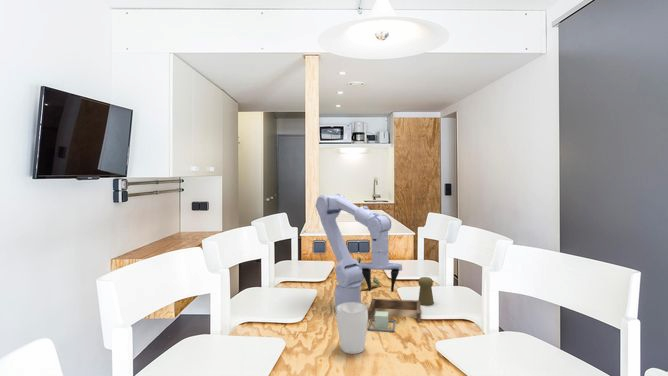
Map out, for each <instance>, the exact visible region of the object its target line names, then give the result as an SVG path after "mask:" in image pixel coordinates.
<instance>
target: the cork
mask: <svg viewBox="0 0 668 376" xmlns="http://www.w3.org/2000/svg"><path fill="white" fill-rule="evenodd" d="M417 283H418V286H419V294H418V299H417V301H420V306H424V307H425V306H426V307H431V306H433V305H434V304H435V302H434V301H435V300H434V295H433V290H432V287H433V284H434V282H433V279H432V278H431V277H429V276H428V277H427V276H422V277H420V278H419V279H418V282H417Z"/></svg>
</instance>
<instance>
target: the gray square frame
mask: <svg viewBox="0 0 668 376" xmlns="http://www.w3.org/2000/svg"><path fill="white" fill-rule="evenodd" d="M373 322H374V323H375V318H372V319H369V323H368V324H367V331H366V332H379V333H395V330H396V323H397V321H396V319H389V323H391V324H392V323H393V324H392V329H380V328H371V326H372V324H373Z"/></svg>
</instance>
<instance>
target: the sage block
mask: <svg viewBox="0 0 668 376" xmlns="http://www.w3.org/2000/svg"><path fill="white" fill-rule="evenodd" d="M389 318H390V316H388V312H383V311H376V313H375V315H374V319H375V322H374V329H387V330H389V325H390V322H389V320H390V319H389Z"/></svg>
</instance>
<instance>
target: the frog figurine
mask: <svg viewBox="0 0 668 376" xmlns="http://www.w3.org/2000/svg"><path fill="white" fill-rule="evenodd" d="M357 261H358V263H362V262H361V261H362V257H361V256H359V257H358V260H357ZM371 280H372V281H371V288H380V287H382V285H381V283H380V281H379V280H378V279H377V278H376V276H374V278H372V277H371ZM367 289H368V286H367V282H366V280H365V278H364V280H363V281H362V284H361V291H363V290H364V291H365V290H367Z"/></svg>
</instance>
